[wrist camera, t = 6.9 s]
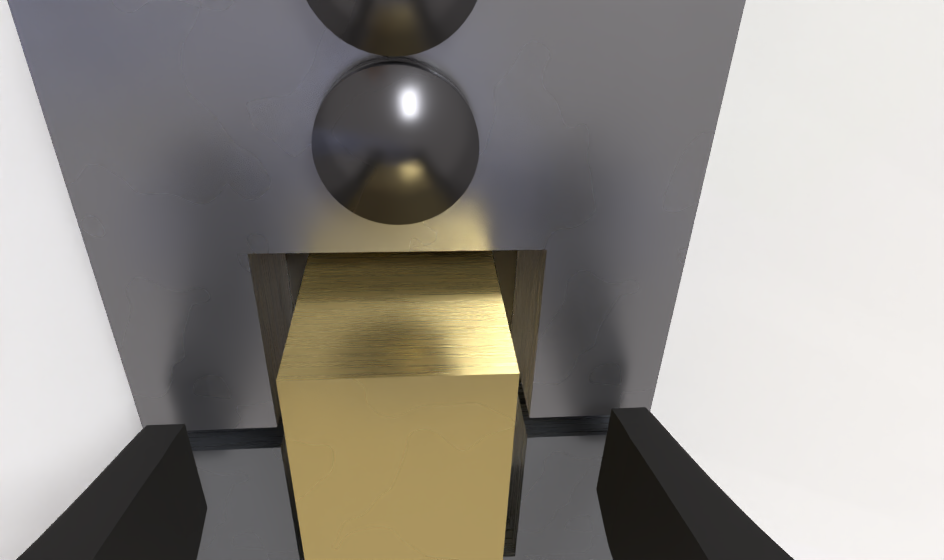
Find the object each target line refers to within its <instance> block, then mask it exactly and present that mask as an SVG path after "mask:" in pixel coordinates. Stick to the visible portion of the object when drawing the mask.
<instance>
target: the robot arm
mask: <svg viewBox="0 0 944 560" xmlns="http://www.w3.org/2000/svg"><path fill="white" fill-rule="evenodd" d="M596 491H597V496H598V500H599V505H600V510H601V515H602V520H603V524H604V529H605V533H606V537H607V542H608V546H609V549H610V552H611V555H612V558H613V560H794V559H793V558H792V557H791V556H789V555H788V554H787V553H786V552H785V551H784V550H783V549H782V548H781V547H780V546H779V545H778V544H776V543H775V542H774V541H773V540H772V539H771V538H770V537H769V536H768V535H767V534H766V533H765V532H764V531H763V530H762V529H760V528H759V527H758V526H757V525H756V524H755V523H754V522H753V521H752V520H751V519H750V518H749V517H748V516H747V515H746V514H745V513H744V512H743V511H742V510H741V509H740V508H739V507H738V506H737V505H736V504H735V503H734V502H733V501H732V500H731V499H730V498H729V497H728V496H727V495H726V494H725V493H724V492H723V490H722V489H721V488H720V487H719V486H718V485H717V484H716V483H715V482H714V481H713V480H712V479H711V478H710V477H709V476H708V475H707V474H706V473H705V472H704V471H703V470H702V468H701V467H700V466H699V465H698V464H697V463H696V462H695V461H694V460H693V459H692V458H691V457H690V455H689V454H688V453H687V452H686V451H685V450H684V449H683V448H682V447H681V446H680V444H679V443H678V442H677V441H676V440H675V439H674V438H673V437H672V436H671V434H670V433H669V432H668V431H667V430H666V429H665V428H664V427H663V425H662V424H661V423H660V422H659V421H658V420H657V419H656V418H655V417H654V416H653V414H652V413H651V412H650V411H649V410H648V409H647V408H646V407H637V408H612V409H611V414H610V419H609V424H608V430H607V435H606V440H605V445H604V451H603V456H602V461H601V466H600V472H599V477H598V482H597V487H596ZM206 512H207V504H206V500H205V496H204V493H203V489H202V485H201V481H200V478H199V474H198V470H197V467H196V463H195V459H194V455H193V452H192V448H191V444H190V441H189V437H188V433H187V430H186V426H185V424H166V425H146V426H145V427H144V428H143V429H142V430H141V431H140V432H139V433H138V434H137V435H136V437H135V438H134V439H133V440H132V441H131V442H130V443H129V444H128V445H127V446H126V447H125V448H124V449H123V450H122V451H121V452H120V453H119V455H118V456H117V457H116V458H115V459H114V460H113V461H112V462H111V463H110V464H109V465H108V466H107V467H106V469H105V470H104V471H103V472H102V473H101V474H100V475H99V476H98V477H97V478H96V479H95V480H94V481H93V482H92V483H91V485H90V486H89V487H88V488H87V489H86V490H85V491H84V492H83V493H82V494H81V495H80V496H79V497H78V498H77V499H76V500H75V501H74V502H73V503H72V504H71V505H70V506H69V507H68V508H67V509H66V511H65V512H64V513H63V514H62V515H61V516H60V517H59V518H58V519H57V520H56V521H55V522H54V523H53V524H52V525H51V526H50V527H49V528H48V529H47V530H46V531H45V532H44V533H43V534H42V535H41V536H40V537H39V538H38V539H37V540H36V541H35V542H34V543H33V544H32V545H31V546H30V547H29V548H28V549H27V550H26V551H25V552H24V553H23V554H22V555H20V556H19V557H18V558H17V559H16V560H197V556H198V551H199V547H200V542H201V538H202V533H203V527H204V522H205V517H206Z"/></svg>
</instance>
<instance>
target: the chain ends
mask: <svg viewBox="0 0 944 560" xmlns="http://www.w3.org/2000/svg"><path fill="white" fill-rule="evenodd" d="M7 1H8V4H9V7H10V10H11V13H12V17H13V20H14V23H15V26H16V29H17V32H18V36H19V39H20V42H21V45H22V48H23V51H24V54H25V58H26V61H27V64H28V67H29V70H30V73H31V77H32V80H33V83H34V86H35V89H36V92H37V95H38V99H39V102H40V105H41V108H42V111H43V114H44V118H45V121H46V124H47V127H48V130H49V133H50V136H51V140H52V143H53V146H54V149H55V152H56V155H57V159H58V162H59V165H60V168H61V171H62V174H63V177H64V181H65V184H66V187H67V190H68V193H69V196H70V200H71V203H72V206H73V209H74V212H75V215H76V218H77V222H78V225H79V228H80V231H81V234H82V237H83V241H84V244H85V247H86V250H87V253H88V256H89V259H90V263H91V266H92V269H93V272H94V275H95V278H96V282H97V285H98V288H99V291H100V294H101V297H102V300H103V304H104V307H105V310H106V313H107V316H108V319H109V323H110V326H111V329H112V332H113V335H114V338H115V341H116V345H117V348H118V351H119V354H120V357H121V360H122V364H123V367H124V370H125V373H126V376H127V379H128V382H129V386H130V389H131V392H132V395H133V398H134V401H135V405H136V408H137V411H138V414H139V417H140V420H141V423H142V427H143V428H144V427H145V426H146V425H166V424H185V426H186V430H187V433H188V437H189V441H190V444H191V448H192V452H193V455H194V459H195V463H196V467H197V470H198V474H199V478H200V481H201V485H202V489H203V493H204V496H205V500H206V504H207V512H206V517H205V522H204V527H203V533H202V538H201V542H200V547H199V551H198V556H197V560H305V558H304V552H303V546H302V540H301V533H300V527H299V521H298V515H297V508H296V502H295V496H294V490H293V483H292V477H291V471H290V465H289V459H288V452H287V446H286V440H285V434H284V427H283V421H282V415H281V409H280V402H279V396H278V390H277V384H276V379H277V375H278V371H279V368H280V364H281V360H282V356H283V352H284V348H285V344H286V341H287V337H288V333H289V329H290V325H291V321H292V317H293V314H294V313H293V306H292V299H291V291H290V284H289V276H288V269H287V262H286V254H285V253H340V252H412V251H483V250H518V251H517V264H516V277H515V290H514V303H513V316H512V329H511V338H512V343H513V347H514V351H515V356H516V360H517V364H518V369H519V373H520V375H519V386H518V397H517V408H516V419H515V430H514V441H513V452H512V463H511V474H510V485H509V496H508V507H507V518H506V529H505V540H504V551H503V560H613V558H612V555H611V552H610V549H609V546H608V542H607V537H606V533H605V529H604V524H603V520H602V515H601V510H600V505H599V500H598V496H597V491H596V487H597V482H598V477H599V472H600V466H601V461H602V456H603V451H604V445H605V440H606V435H607V430H608V424H609V419H610V414H611V409H612V408H637V407H646V408H647V409H648V410H649V411H650V409H651V405H652V401H653V396H654V392H655V388H656V383H657V379H658V375H659V370H660V366H661V362H662V358H663V353H664V349H665V345H666V340H667V336H668V332H669V327H670V323H671V319H672V315H673V310H674V306H675V302H676V297H677V293H678V289H679V284H680V280H681V276H682V272H683V267H684V263H685V259H686V254H687V250H688V246H689V241H690V237H691V233H692V229H693V224H694V220H695V216H696V211H697V207H698V203H699V198H700V194H701V190H702V186H703V181H704V177H705V173H706V168H707V164H708V160H709V155H710V151H711V147H712V143H713V138H714V134H715V130H716V125H717V121H718V117H719V112H720V108H721V104H722V100H723V95H724V91H725V87H726V82H727V78H728V74H729V69H730V65H731V61H732V57H733V52H734V48H735V44H736V39H737V35H738V31H739V26H740V22H741V18H742V14H743V9H744V5H745V1H746V0H7Z"/></svg>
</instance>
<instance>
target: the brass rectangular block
mask: <svg viewBox="0 0 944 560" xmlns="http://www.w3.org/2000/svg"><path fill="white" fill-rule="evenodd" d="M519 375H520V373H519V369H518V364H517V360H516V356H515V351H514V347H513V343H512V338H511V334H510V330H509V325H508V321H507V317H506V312H505V308H504V304H503V299H502V295H501V290H500V286H499V282H498V277H497V273H496V269H495V264H494V260H493V256H492V251H491V250H483V251H412V252H340V253H309V256H308V259H307V263H306V267H305V271H304V275H303V279H302V283H301V286H300V290H299V294H298V298H297V302H296V306H295V310H294V314H293V317H292V321H291V325H290V329H289V333H288V337H287V341H286V344H285V348H284V352H283V356H282V360H281V364H280V368H279V371H278V375H277V379H276V384H277V390H278V396H279V402H280V409H281V415H282V421H283V427H284V434H285V440H286V446H287V452H288V459H289V465H290V471H291V477H292V483H293V490H294V496H295V502H296V508H297V515H298V521H299V527H300V533H301V540H302V546H303V552H304V558H305V560H503V551H504V540H505V529H506V518H507V507H508V496H509V485H510V474H511V463H512V452H513V441H514V430H515V419H516V408H517V397H518V386H519Z"/></svg>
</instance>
